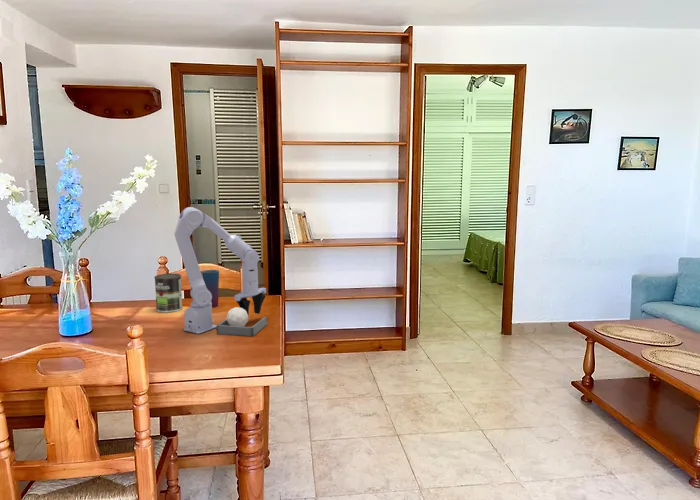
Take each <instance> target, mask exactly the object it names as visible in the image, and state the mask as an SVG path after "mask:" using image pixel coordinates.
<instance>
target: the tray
mask: <svg viewBox="0 0 700 500" xmlns="http://www.w3.org/2000/svg"><path fill="white" fill-rule="evenodd" d="M226 319H227V318H226ZM226 319H224V320H222V321H221V322H220V323H218V324H216V325H217V326H216V328H215V329H216V335H228V336H245V337H254V336H256V335H257V333H259V332H260V331H261V330H262V329H263V328H265V327H266V326H267V325H268V322H267V321H268V320H267V316H264V317H262V318H261V319H260V320H259V321H258V322H256V323H255V324H254V325H253V326H244V327H242V326H230V325H229V324H228V322H227V320H226Z"/></svg>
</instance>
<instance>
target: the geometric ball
mask: <svg viewBox="0 0 700 500" xmlns="http://www.w3.org/2000/svg"><path fill="white" fill-rule="evenodd" d="M226 320H227V322H228V324H229V325H230V326H242V327H246V324H247V323H248V321H249V316H248V314H247V312H246V310H244V309H243V308H240V306H235V307H231V309H229V311H228V312H227V315H226Z"/></svg>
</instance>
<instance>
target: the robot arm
mask: <svg viewBox="0 0 700 500" xmlns="http://www.w3.org/2000/svg"><path fill="white" fill-rule="evenodd" d="M199 227H201V228H206V229H209V230H210V231H211V232H213V234H216V236H218V237H219V238H220V239H221V240H222V241H223V242H224V247H225V248H227V249H228V250H229V251H230V252H231V253H233V255H235V256H236V257H238V258H239V260H240V261H242V262H241V265H242V267H241V274H242V275H241V276H242V279H241V280H242V290H241V291H240V292H239V293H237V294H235V295H234V301H236V303H237V304H238V307H240V308H243V309H244V310H246V312H247V314H248V317H249V316H250V315H249V313H250V304H251V300H249V299H248V298H252V301H253V312H254V314H257V315H259V314H260V313H261V309H262V305H263V303H264V301H265V299H266V295H265V294H266V293H267V287H259V272H258V271H259V270H258V269H259V268H258V263H259V262H260V256H259V254H258V252H257V251H256V250H255V249H253V248H252V245H251V244H247V243H246V242H245V241H244V240H243V239H242V236H241V235H240V234H230V233H229V232H228V231H227V230H226V229H225V228H223V226H221V225H220V224H219V223H218V222H217V221H216V220H214V219H213V218H212V217H211V216H209V215H207V214H206V213H204V212H202V211H201V210H200V209H198V208H196V207H193V206H188V207H185V208H184V209H183V210H182V211H181V213H180V214H179V215H178V219H177V223H176V226H175V230H174V237H175V240H176V244H177V247H178V251H179V252H180V256H181V260H182V262H183V266H184V269H185V271H186V275H187V278H188V281H189V285H190V294H189V295H190V296H191V297H190V298H191V299H192V301H191V303H190V307H188V308H186V309H185V311H184V312H183V313H184V317H183V318H184V328H183V331H186V332H188V333H192V334H193V333H194V334H197V335H198V334H202V333H204V332H207V331H210V330H213V329H217V328H216V326H217V325H218V324H213V307H212V302H211V300H212V294H211V293H210V291H209V290H208V289H207V288H206V285H205V282H204V280H203V274H202V271H201V269H200V266H199V262H198V259H197V256H196V254H195V250H194V246H193V243H192V241H191V236H192V234H193V232H194V230H196V229H197V228H199Z"/></svg>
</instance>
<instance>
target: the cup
mask: <svg viewBox="0 0 700 500" xmlns="http://www.w3.org/2000/svg"><path fill="white" fill-rule="evenodd" d="M201 274H202V278H203V280H204V282H205V285H206V288H207V289H208V290H209V291H210V293H211V294H212V300H211V302H212V308H215V307H218V306H219V292H220V291H219V289H220V288H219V287H220V286H219V285H220V284H219V283H220V279H219V278H220V270H219V269H205V270H202V271H201Z"/></svg>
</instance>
